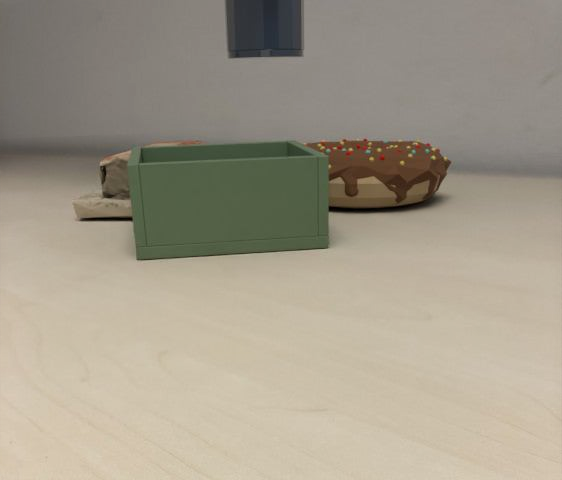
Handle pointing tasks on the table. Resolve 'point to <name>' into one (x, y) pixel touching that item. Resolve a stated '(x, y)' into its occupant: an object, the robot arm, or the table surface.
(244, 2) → the cup
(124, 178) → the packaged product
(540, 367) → the table surface
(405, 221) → the table surface
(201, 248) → the tub
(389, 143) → the donut
